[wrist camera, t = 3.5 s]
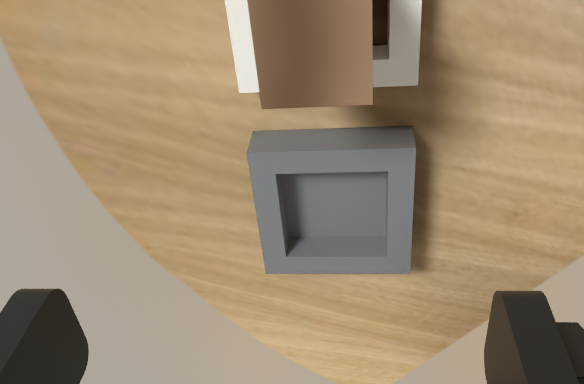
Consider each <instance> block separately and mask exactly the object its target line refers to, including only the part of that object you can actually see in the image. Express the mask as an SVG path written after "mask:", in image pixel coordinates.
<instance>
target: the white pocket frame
mask: <svg viewBox="0 0 584 384" xmlns="http://www.w3.org/2000/svg"><path fill="white" fill-rule="evenodd" d="M225 5H226V11H227V17H228V24H229V30H230V37H231V43H232V49H233V56H234V62H235V68H236V75H237V81H238V88H239V93H251V92H259V85H258V77H257V70H256V62H255V55H254V47H253V40H252V32H251V25H250V17H249V10H248V2H247V0H225ZM421 11H422V0H388V32H387V45H377V46H373V87H393V86H416V85H418V76H419V54H420V32H421Z"/></svg>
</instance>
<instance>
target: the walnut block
mask: <svg viewBox="0 0 584 384" xmlns="http://www.w3.org/2000/svg"><path fill="white" fill-rule="evenodd" d="M247 2H248V10H249V17H250V25H251V32H252V40H253V47H254V55H255V62H256V70H257V77H258V85H259V92H260V100H261V107H262V109H274V108H300V107H327V106H353V105H373V46H372V0H247Z"/></svg>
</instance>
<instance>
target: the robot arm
mask: <svg viewBox="0 0 584 384" xmlns="http://www.w3.org/2000/svg"><path fill="white" fill-rule="evenodd" d="M87 362H88V343H87V339H86V337H85V335H84V332H83V330H82V328H81V326H80V324H79V322H78V319H77V317H76V315H75V313H74V311H73V309H72V306H71V304H70V302H69V300H68V298H67V296H66V294H65V293H64V291H62V290H61V289H20V290H18V291H16V292H15V293H14V294H13V295H12V297H11V298H10V299H9V301H8V302H7V304H6V305H5V307H4V308H3V310H2V311H1V313H0V384H79V383H80V381H81V379H82V377H83V375H84V372H85V369H86V366H87ZM484 364H485V374H486V380H487V384H584V329H583V328H582V327H581V326H580V325H579V324H578V323H568V322H562V323H561V322H555V319H554V317H553V314H552V311H551V309H550V306H549V304H548V301H547V299H546V296H545V295H544V293H543V292H541V291H496V292H495V293H494V296H493V301H492V307H491V313H490V318H489V324H488V330H487V336H486V342H485V349H484Z"/></svg>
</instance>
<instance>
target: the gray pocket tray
mask: <svg viewBox="0 0 584 384" xmlns="http://www.w3.org/2000/svg"><path fill="white" fill-rule="evenodd" d="M247 158H248V164H249V171H250V177H251V183H252V189H253V196H254V202H255V208H256V215H257V221H258V227H259V233H260V240H261V246H262V252H263V258H264V265H265V271H266V274H410V268H411V247H412V226H413V205H414V184H415V163H416V144H415V138H414V132H413V127H412V126H395V127H365V128H335V129H305V130H275V131H253V133H252V137H251V140H250V143H249V147H248V150H247Z"/></svg>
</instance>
